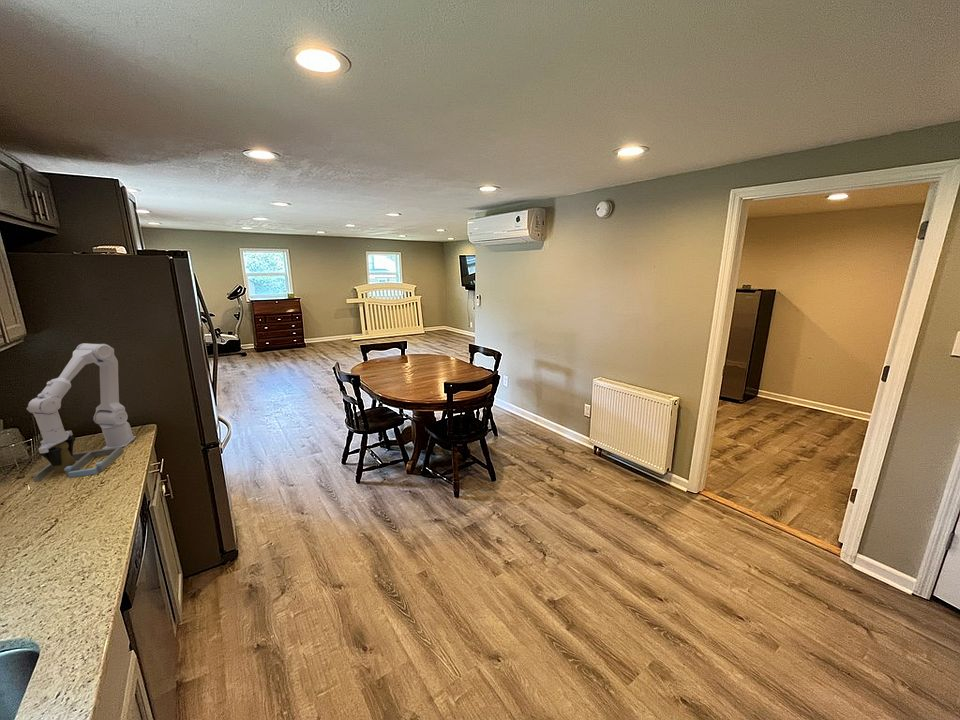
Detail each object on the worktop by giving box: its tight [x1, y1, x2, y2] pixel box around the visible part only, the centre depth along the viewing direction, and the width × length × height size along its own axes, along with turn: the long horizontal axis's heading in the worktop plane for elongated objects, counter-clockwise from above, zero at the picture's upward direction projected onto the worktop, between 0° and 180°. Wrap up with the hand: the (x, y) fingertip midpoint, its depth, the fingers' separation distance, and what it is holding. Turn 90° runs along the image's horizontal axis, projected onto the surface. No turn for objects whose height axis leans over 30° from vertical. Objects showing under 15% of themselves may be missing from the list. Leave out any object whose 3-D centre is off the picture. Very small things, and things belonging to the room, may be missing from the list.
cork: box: [53, 441, 76, 474], centre depth 142 cm, size 6×6×11 cm
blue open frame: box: [32, 447, 124, 483], centre depth 145 cm, size 16×19×3 cm
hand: (63, 461), depth 143 cm, fingers open, 6 cm apart
